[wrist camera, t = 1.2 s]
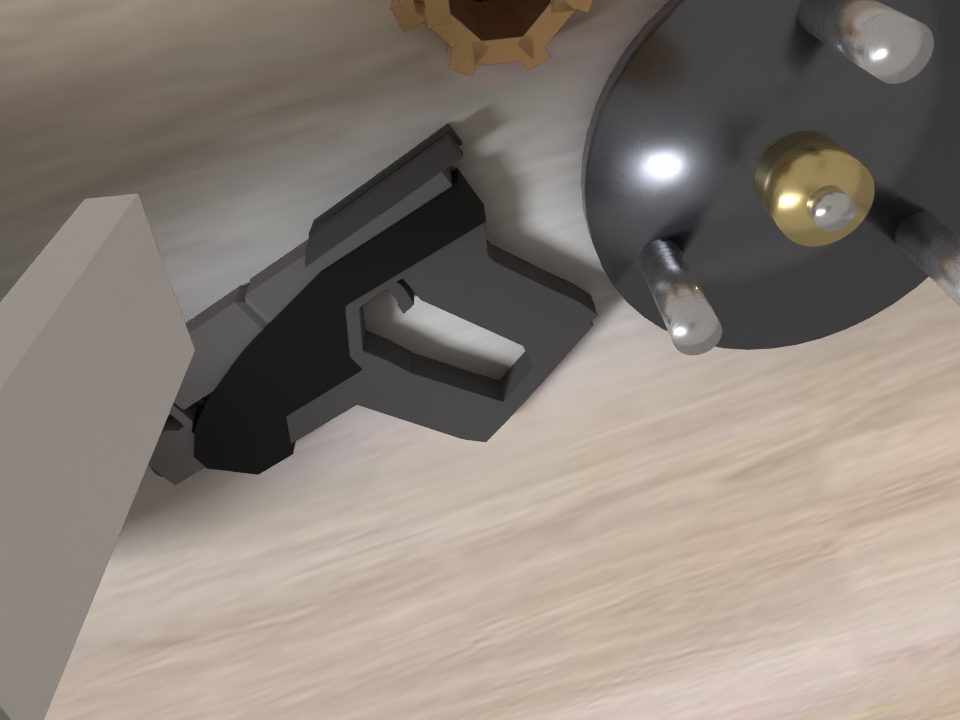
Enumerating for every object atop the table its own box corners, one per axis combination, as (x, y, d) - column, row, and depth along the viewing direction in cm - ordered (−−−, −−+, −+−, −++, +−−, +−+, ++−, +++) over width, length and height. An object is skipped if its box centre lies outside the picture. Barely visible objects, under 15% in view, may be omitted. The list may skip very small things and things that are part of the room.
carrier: (584, 350, 43) (612, 452, 36) (577, -43, 32) (616, 3, 25) (941, 313, 43) (1034, 408, 36) (1061, -95, 32) (1225, -63, 25)
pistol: (631, 362, 41) (464, 128, 34) (256, 567, 49) (49, 413, 41) (622, 337, 43) (462, 110, 35) (262, 538, 50) (65, 386, 43)
